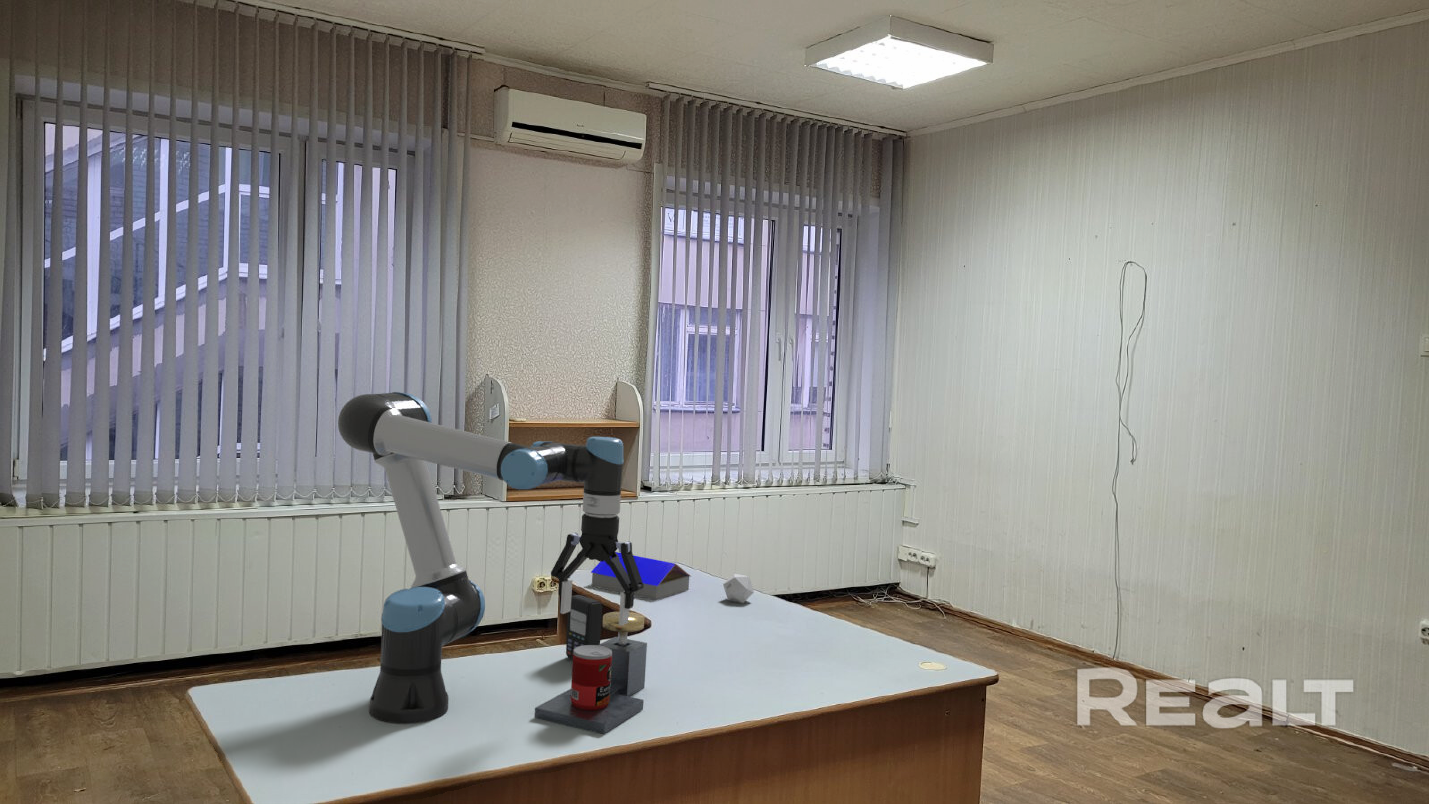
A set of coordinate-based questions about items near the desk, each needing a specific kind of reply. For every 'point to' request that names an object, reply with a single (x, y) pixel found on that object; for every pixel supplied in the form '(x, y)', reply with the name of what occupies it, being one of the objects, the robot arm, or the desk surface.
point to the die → (738, 588)
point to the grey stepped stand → (623, 685)
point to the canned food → (591, 677)
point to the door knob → (613, 624)
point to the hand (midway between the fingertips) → (594, 618)
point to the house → (645, 578)
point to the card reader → (583, 623)
